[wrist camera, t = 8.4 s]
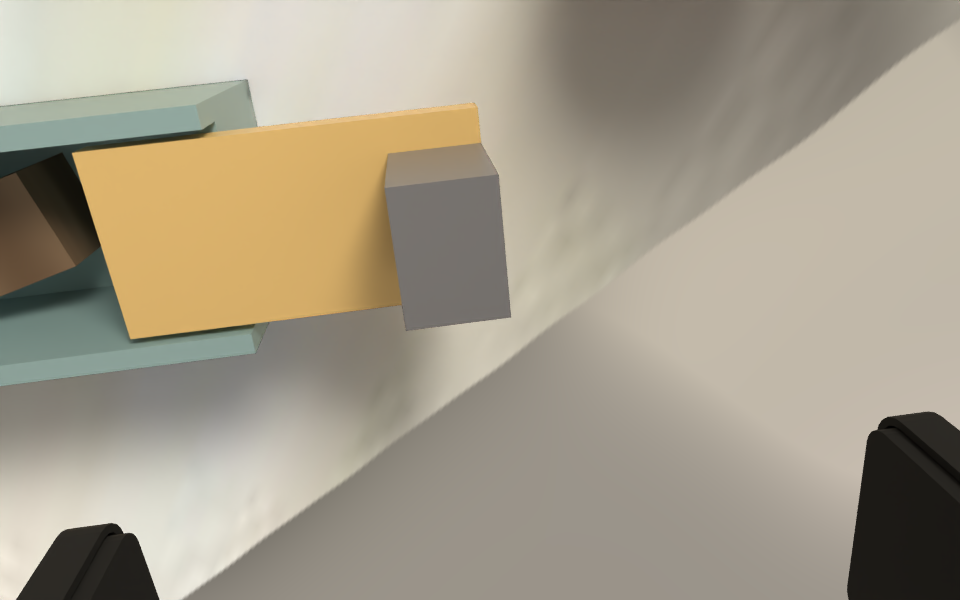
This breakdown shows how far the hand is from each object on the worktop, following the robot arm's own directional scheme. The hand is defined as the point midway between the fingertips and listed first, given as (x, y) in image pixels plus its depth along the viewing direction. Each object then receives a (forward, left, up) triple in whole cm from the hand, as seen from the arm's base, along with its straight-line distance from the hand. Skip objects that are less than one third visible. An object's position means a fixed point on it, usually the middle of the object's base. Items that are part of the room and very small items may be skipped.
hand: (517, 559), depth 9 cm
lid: (+5, 0, -19) cm, 20 cm away
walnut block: (+17, 0, -25) cm, 30 cm away
